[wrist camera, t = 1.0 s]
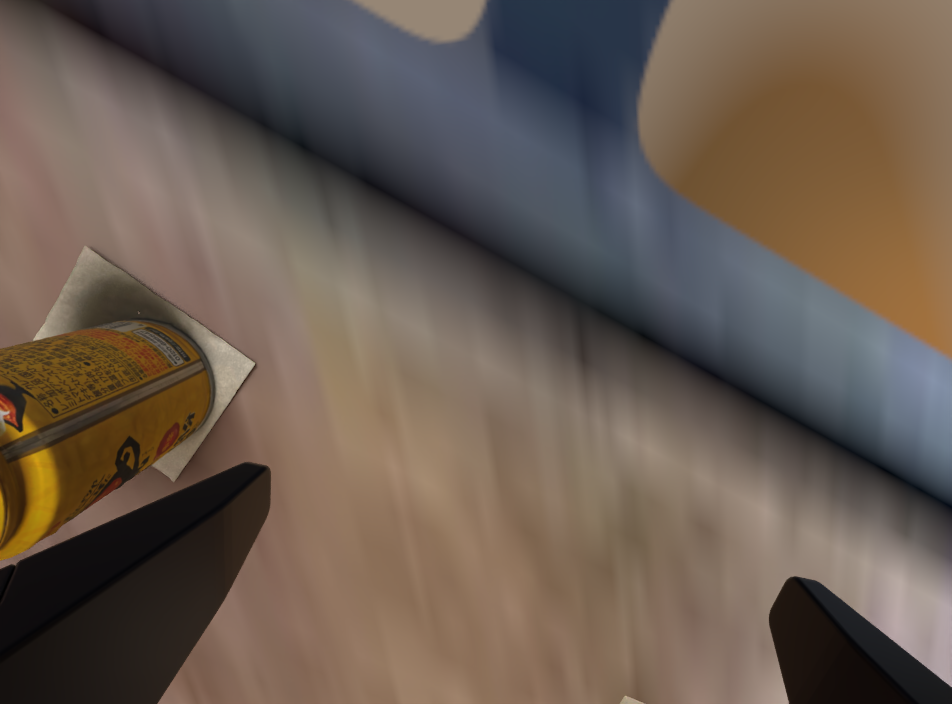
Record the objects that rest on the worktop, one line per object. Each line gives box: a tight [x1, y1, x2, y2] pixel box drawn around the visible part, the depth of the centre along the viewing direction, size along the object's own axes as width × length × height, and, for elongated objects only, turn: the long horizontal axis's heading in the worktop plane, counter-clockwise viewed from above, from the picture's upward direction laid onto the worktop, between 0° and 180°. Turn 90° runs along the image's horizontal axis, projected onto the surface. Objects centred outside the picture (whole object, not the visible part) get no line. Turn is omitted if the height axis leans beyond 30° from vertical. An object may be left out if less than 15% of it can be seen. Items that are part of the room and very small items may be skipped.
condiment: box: [0, 246, 256, 561], centre depth 17 cm, size 7×8×12 cm
